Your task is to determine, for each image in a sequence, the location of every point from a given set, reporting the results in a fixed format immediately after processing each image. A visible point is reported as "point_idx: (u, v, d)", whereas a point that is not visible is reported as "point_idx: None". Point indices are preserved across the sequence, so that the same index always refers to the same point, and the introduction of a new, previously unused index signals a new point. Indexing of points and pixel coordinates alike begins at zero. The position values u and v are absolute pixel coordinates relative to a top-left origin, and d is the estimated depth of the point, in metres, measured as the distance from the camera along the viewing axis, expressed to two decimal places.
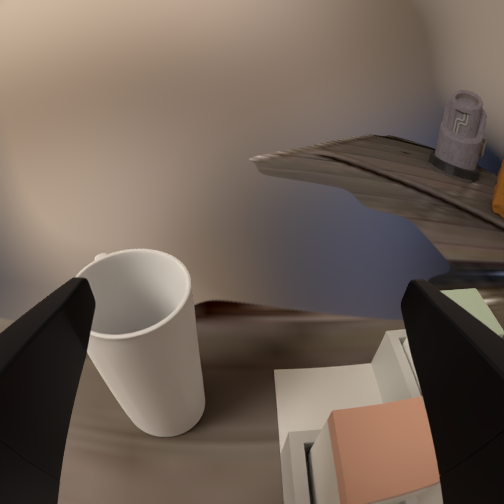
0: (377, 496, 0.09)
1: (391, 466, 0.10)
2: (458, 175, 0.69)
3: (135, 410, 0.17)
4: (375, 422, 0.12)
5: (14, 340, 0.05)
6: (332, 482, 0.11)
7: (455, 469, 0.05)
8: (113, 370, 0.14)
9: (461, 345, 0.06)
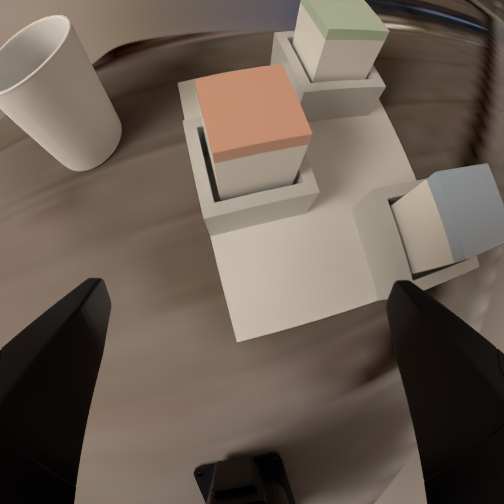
0: (239, 144, 0.13)
1: (251, 118, 0.14)
2: None
3: (59, 148, 0.18)
4: (235, 84, 0.14)
5: (31, 344, 0.05)
6: (208, 143, 0.15)
7: (439, 475, 0.05)
8: (28, 115, 0.14)
9: (445, 348, 0.06)
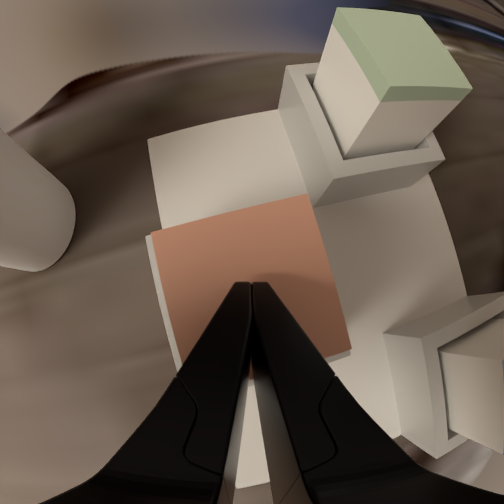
0: None
1: None
2: None
3: None
4: (222, 247, 0.09)
5: (221, 363, 0.05)
6: None
7: None
8: None
9: (265, 364, 0.05)
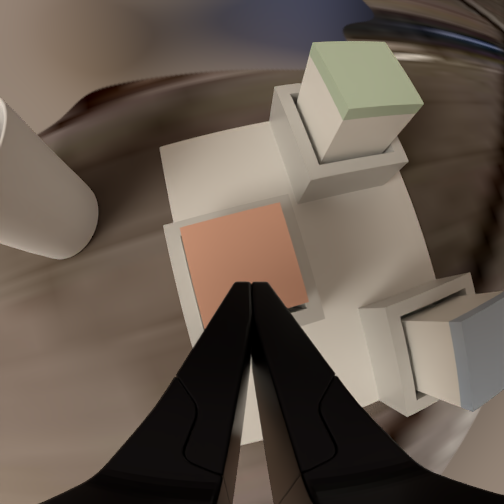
0: None
1: None
2: None
3: (28, 249, 0.16)
4: (225, 236, 0.14)
5: (221, 363, 0.05)
6: None
7: None
8: None
9: (265, 365, 0.05)
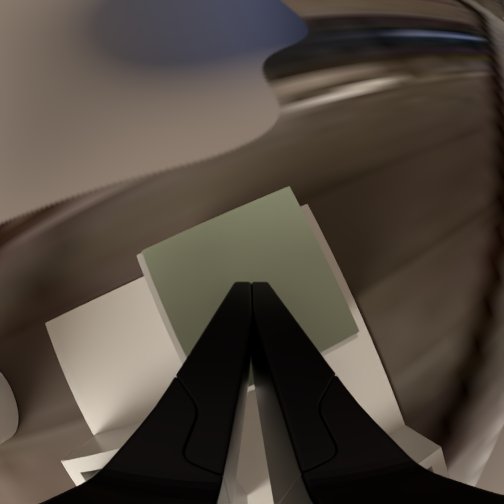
0: None
1: None
2: None
3: None
4: None
5: (221, 363, 0.05)
6: None
7: None
8: None
9: (265, 365, 0.05)
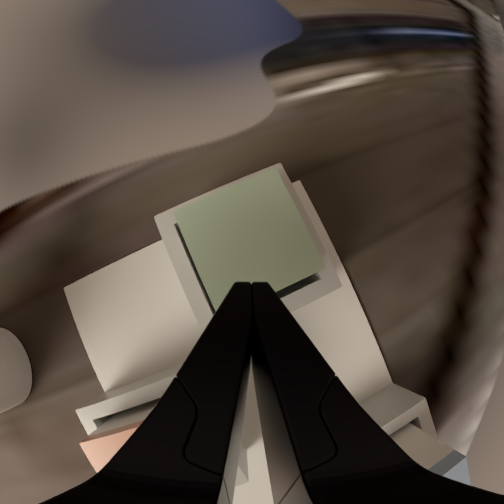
0: None
1: None
2: None
3: None
4: None
5: (221, 363, 0.05)
6: None
7: None
8: None
9: (265, 365, 0.05)
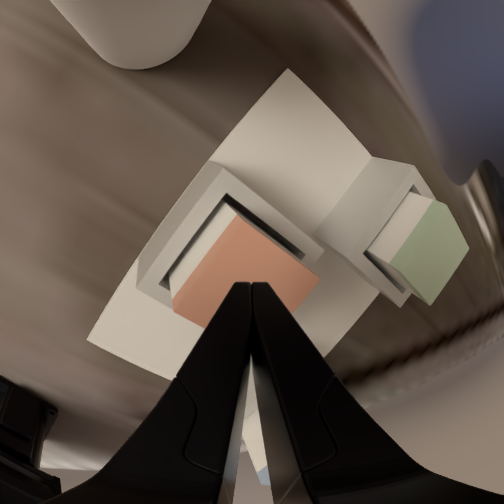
0: (200, 322, 0.13)
1: None
2: None
3: None
4: (263, 264, 0.13)
5: (221, 363, 0.05)
6: (190, 265, 0.14)
7: None
8: None
9: (265, 365, 0.05)
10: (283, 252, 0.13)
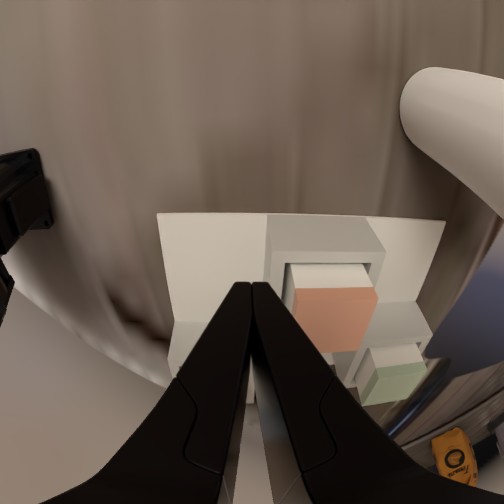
0: (297, 317, 0.17)
1: (317, 327, 0.17)
2: (503, 414, 0.54)
3: (436, 105, 0.13)
4: (355, 322, 0.17)
5: (221, 363, 0.05)
6: (320, 279, 0.18)
7: None
8: (491, 133, 0.09)
9: (265, 365, 0.05)
10: (367, 325, 0.18)
